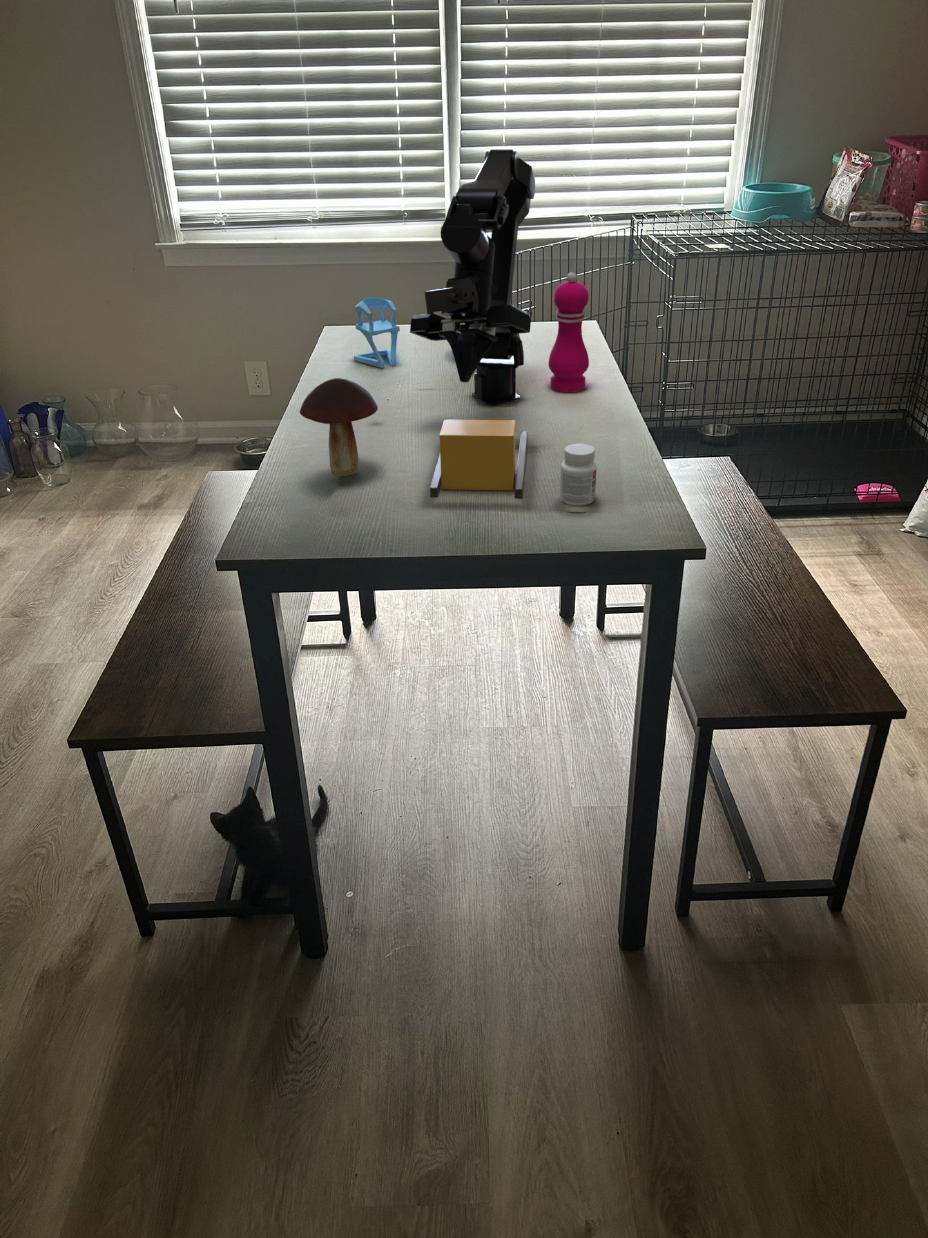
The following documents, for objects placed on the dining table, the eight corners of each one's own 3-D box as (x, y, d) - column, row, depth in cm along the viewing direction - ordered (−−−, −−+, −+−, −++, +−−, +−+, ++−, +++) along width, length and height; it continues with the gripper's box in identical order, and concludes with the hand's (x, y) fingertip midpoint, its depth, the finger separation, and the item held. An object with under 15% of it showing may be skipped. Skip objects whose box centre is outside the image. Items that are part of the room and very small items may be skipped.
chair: (371, 370, 183) (366, 306, 176) (353, 359, 189) (348, 298, 182) (406, 363, 186) (403, 301, 179) (388, 353, 192) (384, 292, 186)
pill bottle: (599, 512, 128) (602, 453, 123) (565, 516, 127) (567, 457, 122) (588, 497, 132) (590, 440, 127) (555, 501, 131) (556, 444, 126)
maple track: (442, 446, 149) (442, 430, 147) (531, 447, 148) (532, 431, 146) (425, 505, 131) (424, 487, 129) (527, 507, 129) (527, 489, 128)
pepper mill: (561, 395, 168) (565, 278, 157) (540, 384, 173) (542, 270, 163) (595, 389, 170) (601, 273, 160) (573, 378, 176) (578, 265, 165)
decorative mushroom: (394, 484, 137) (387, 383, 129) (322, 500, 133) (310, 396, 125) (366, 459, 145) (358, 362, 137) (297, 473, 141) (285, 374, 133)
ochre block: (446, 472, 137) (444, 419, 133) (515, 473, 136) (515, 419, 132) (441, 489, 132) (439, 434, 127) (513, 490, 131) (513, 435, 127)
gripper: (390, 266, 139) (381, 373, 141) (492, 250, 128) (482, 367, 129) (437, 287, 148) (429, 388, 149) (537, 274, 137) (527, 383, 138)
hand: (464, 381), depth 141 cm, fingers closed
